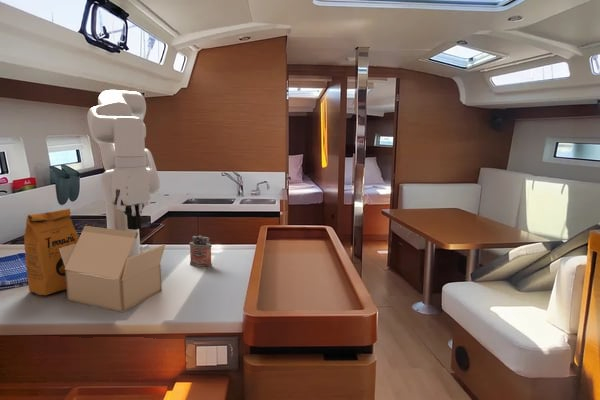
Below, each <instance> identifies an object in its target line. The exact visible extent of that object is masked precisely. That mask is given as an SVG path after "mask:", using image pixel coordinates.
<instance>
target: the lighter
mask: <svg viewBox="0 0 600 400" xmlns="http://www.w3.org/2000/svg"><path fill="white" fill-rule="evenodd" d="M212 247H213V246H212V243H210V237H207V236H202V235H198V236H195V235H193V236H192V241H190V242H189V254H190V256H189V257H190V259H189V260H190V261H189V266H192V265H193V267H196V266H198V267H197V268H202V267H210V268H212V267H213V264H212ZM211 266H212V267H211Z"/></svg>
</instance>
